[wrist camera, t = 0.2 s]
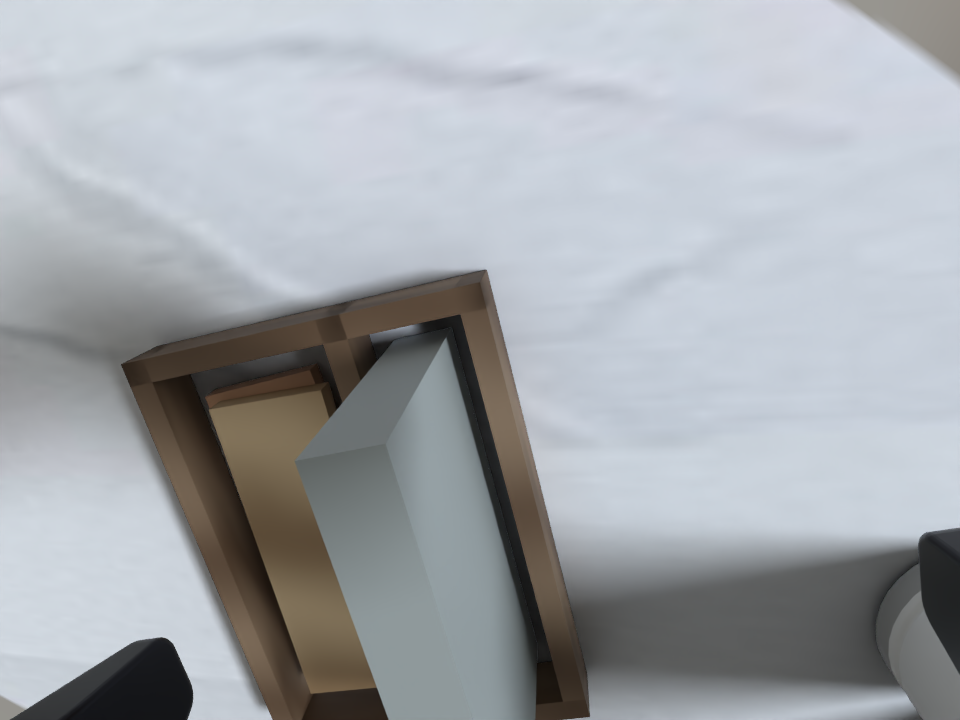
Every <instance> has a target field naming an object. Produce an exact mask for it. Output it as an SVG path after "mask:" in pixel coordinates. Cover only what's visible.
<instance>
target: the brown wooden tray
mask: <svg viewBox="0 0 960 720" xmlns="http://www.w3.org/2000/svg"><path fill="white" fill-rule="evenodd" d="M459 314H460V315H461V319H462V322H463V326H464V330H465V334H466V337H467V341H468V345H469V349H470V352H471V356H472V360H473V364H474V368H475V371H476V375H477V379H478V383H479V386H480V390H481V394H482V398H483V401H484V405H485V409H486V413H487V417H488V420H489V424H490V428H491V432H492V435H493V439H494V443H495V447H496V450H497V454H498V458H499V462H500V466H501V469H502V473H503V477H504V481H505V484H506V488H507V492H508V496H509V499H510V503H511V507H512V511H513V515H514V518H515V522H516V526H517V530H518V533H519V537H520V541H521V545H522V548H523V552H524V556H525V560H526V564H527V567H528V571H529V575H530V579H531V582H532V586H533V590H534V594H535V597H536V601H537V605H538V609H539V613H540V616H541V620H542V624H543V628H544V631H545V635H546V639H547V643H548V647H549V650H550V654H551V658H552V661H550V662H542V663H537V683H536V713H535V720H564V719H574V718H583V717H590V712H589V696H588V680H587V672H586V667H585V663H584V659H583V655H582V651H581V647H580V643H579V639H578V635H577V631H576V627H575V623H574V619H573V615H572V611H571V607H570V603H569V599H568V595H567V591H566V587H565V583H564V579H563V575H562V571H561V567H560V563H559V559H558V555H557V551H556V547H555V543H554V539H553V535H552V531H551V527H550V523H549V519H548V515H547V511H546V507H545V502H544V498H543V494H542V490H541V486H540V482H539V478H538V474H537V470H536V466H535V462H534V458H533V454H532V450H531V446H530V442H529V438H528V434H527V430H526V426H525V422H524V418H523V414H522V410H521V406H520V402H519V398H518V394H517V390H516V386H515V382H514V378H513V374H512V370H511V366H510V362H509V358H508V354H507V350H506V346H505V342H504V337H503V333H502V329H501V325H500V321H499V317H498V313H497V309H496V305H495V301H494V297H493V293H492V289H491V285H490V281H489V277H488V273H487V270H483V271H479V272H475V273H471V274H466V275H462V276H458V277H453V278H449V279H445V280H440V281H436V282H432V283H428V284H423V285H419V286H415V287H410V288H406V289H402V290H397V291H393V292H389V293H384V294H380V295H376V296H372V297H367V298H363V299H359V300H354V301H350V302H346V303H341V304H337V305H333V306H329V307H324V308H320V309H316V310H311V311H307V312H303V313H298V314H294V315H290V316H285V317H281V318H277V319H273V320H268V321H264V322H260V323H255V324H251V325H247V326H242V327H238V328H234V329H230V330H225V331H221V332H217V333H212V334H208V335H204V336H199V337H195V338H191V339H186V340H182V341H178V342H174V343H169V344H165V345H161V346H157V347H155V348H153V349H151V350H149V351H147V352H145V353H143V354H141V355H139V356H137V357H135V358H133V359H131V360H129V361H127V362H125V363H123V364H121V366H122V368H123V370H124V373H125V375H126V377H127V380H128V382H129V384H130V387H131V389H132V391H133V394H134V396H135V398H136V401H137V403H138V406H139V408H140V410H141V413H142V415H143V417H144V420H145V422H146V424H147V427H148V429H149V431H150V434H151V436H152V438H153V441H154V443H155V445H156V448H157V450H158V452H159V455H160V457H161V459H162V462H163V464H164V466H165V469H166V471H167V473H168V476H169V478H170V480H171V483H172V485H173V487H174V490H175V492H176V494H177V497H178V499H179V501H180V504H181V506H182V508H183V511H184V513H185V515H186V518H187V520H188V523H189V525H190V527H191V530H192V532H193V534H194V537H195V539H196V541H197V544H198V546H199V548H200V551H201V553H202V555H203V558H204V560H205V562H206V565H207V567H208V569H209V572H210V574H211V576H212V579H213V581H214V583H215V586H216V588H217V590H218V593H219V595H220V597H221V600H222V602H223V604H224V607H225V609H226V611H227V614H228V616H229V618H230V621H231V623H232V625H233V628H234V630H235V633H236V635H237V637H238V640H239V642H240V644H241V647H242V649H243V651H244V654H245V656H246V658H247V661H248V663H249V665H250V668H251V670H252V672H253V675H254V677H255V679H256V682H257V684H258V686H259V689H260V691H261V693H262V696H263V698H264V700H265V703H266V705H267V707H268V710H269V712H270V714H271V717H272V719H273V720H389V719H388V717H387V714H386V711H385V708H384V706H383V703H382V700H381V697H380V695H379V692H378V689H377V688H366V689H356V690H345V691H334V692H324V693H313V694H311V693H310V690H309V687H308V684H307V682H306V679H305V676H304V673H303V670H302V668H301V665H300V662H299V659H298V657H297V654H296V651H295V648H294V645H293V643H292V640H291V637H290V634H289V632H288V629H287V626H286V623H285V620H284V618H283V615H282V612H281V609H280V607H279V604H278V601H277V598H276V596H275V593H274V590H273V587H272V584H271V582H270V579H269V576H268V573H267V571H266V568H265V565H264V562H263V559H262V557H261V554H260V551H259V548H258V546H257V543H256V540H255V537H254V534H253V532H252V529H251V527H250V524H249V522H248V519H247V517H246V514H245V512H244V509H243V507H242V504H241V502H240V499H239V497H238V494H237V492H236V489H235V487H234V484H233V482H232V479H231V477H230V474H229V472H228V469H227V467H226V464H225V462H224V459H223V456H222V454H221V451H220V449H219V446H218V444H217V441H216V439H215V436H214V434H213V431H212V429H211V426H210V424H209V421H208V419H207V416H206V414H205V411H204V409H203V406H202V404H201V401H200V399H199V396H198V394H197V391H196V389H195V386H194V384H193V381H192V378H191V376H190V374H192V373H197V372H201V371H206V370H210V369H215V368H220V367H224V366H229V365H233V364H238V363H242V362H247V361H251V360H256V359H260V358H265V357H269V356H274V355H278V354H283V353H287V352H292V351H296V350H301V349H305V348H310V347H314V346H319V345H323V346H324V349H325V352H326V355H327V358H328V361H329V364H330V367H331V370H332V373H333V376H334V379H335V382H336V385H337V388H338V391H339V394H340V397H341V400H342V403H343V402H344V400H345V399H346V398H347V397H348V396H349V394H350V393H351V392H352V391H353V390H354V388H355V387H356V386H357V385H358V384H359V382H360V381H361V380H362V379H363V378H364V376H365V375H366V374H367V373H368V371H369V370H370V369H371V368H372V367H373V365H374V364H375V363H376V362H377V359H376V356H375V352H374V349H373V346H372V343H371V339H370V336H369V334H373V333H378V332H382V331H387V330H391V329H396V328H400V327H405V326H409V325H414V324H418V323H423V322H427V321H432V320H436V319H441V318H445V317H450V316H454V315H459Z"/></svg>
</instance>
